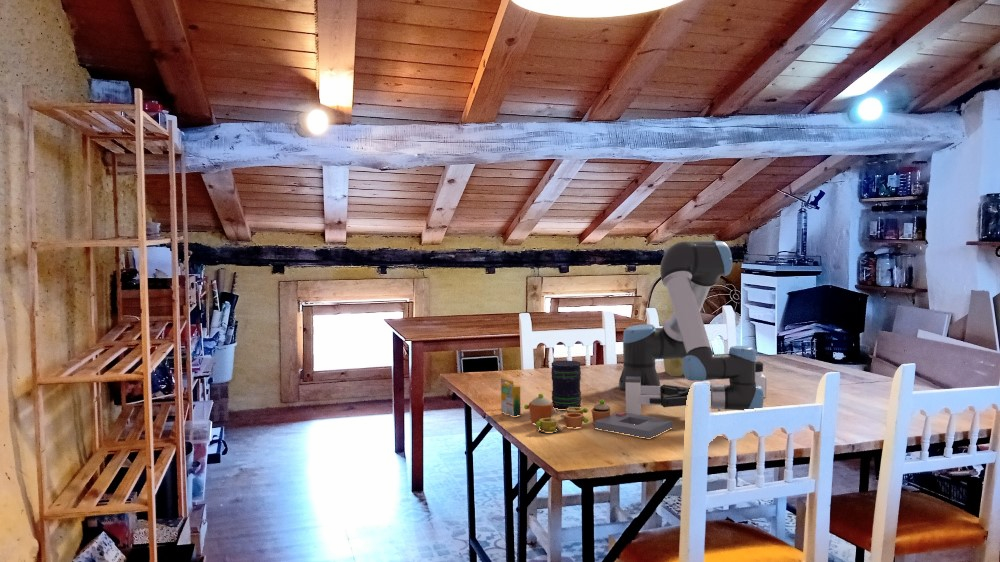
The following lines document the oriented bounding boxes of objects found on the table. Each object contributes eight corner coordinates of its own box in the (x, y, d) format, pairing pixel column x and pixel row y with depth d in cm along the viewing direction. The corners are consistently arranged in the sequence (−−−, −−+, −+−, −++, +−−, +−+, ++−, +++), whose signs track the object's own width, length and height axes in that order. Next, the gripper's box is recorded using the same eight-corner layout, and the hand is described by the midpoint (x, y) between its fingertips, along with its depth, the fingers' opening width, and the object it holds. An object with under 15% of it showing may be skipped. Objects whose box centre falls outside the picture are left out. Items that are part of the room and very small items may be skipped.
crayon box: (521, 416, 219) (520, 380, 218) (513, 418, 217) (512, 381, 216) (508, 412, 225) (508, 377, 224) (501, 413, 223) (500, 378, 223)
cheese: (695, 376, 276) (695, 351, 276) (669, 376, 276) (669, 352, 276) (689, 371, 287) (689, 347, 286) (663, 371, 287) (663, 348, 286)
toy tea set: (541, 437, 197) (540, 404, 196) (518, 424, 211) (518, 393, 210) (618, 425, 207) (618, 394, 206) (592, 414, 221) (592, 384, 221)
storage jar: (546, 405, 232) (546, 362, 231) (572, 402, 236) (571, 359, 235) (560, 412, 223) (560, 367, 222) (586, 408, 227) (586, 364, 226)
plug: (625, 416, 216) (625, 379, 215) (626, 413, 220) (626, 376, 219) (640, 417, 215) (640, 379, 214) (640, 413, 219) (640, 376, 218)
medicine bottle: (766, 397, 237) (766, 363, 237) (744, 397, 239) (744, 363, 238) (762, 393, 244) (762, 359, 244) (741, 392, 246) (741, 359, 245)
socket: (594, 429, 202) (594, 419, 202) (619, 419, 213) (619, 409, 213) (649, 440, 191) (649, 429, 190) (672, 429, 201) (672, 418, 201)
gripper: (712, 419, 199) (637, 416, 204) (706, 399, 224) (640, 397, 228) (712, 393, 199) (637, 391, 204) (706, 376, 223) (640, 375, 228)
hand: (638, 394), depth 216 cm, fingers open, 13 cm apart
